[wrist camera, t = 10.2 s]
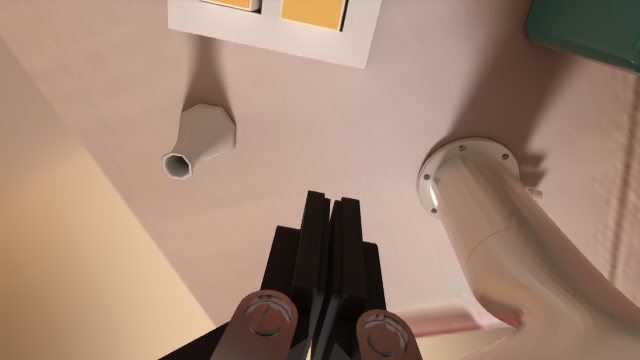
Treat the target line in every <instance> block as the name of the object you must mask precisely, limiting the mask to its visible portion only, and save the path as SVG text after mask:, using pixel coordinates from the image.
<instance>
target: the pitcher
mask: <svg viewBox="0 0 640 360" xmlns="http://www.w3.org/2000/svg"><path fill="white" fill-rule="evenodd" d="M526 34H527V36H528V38H529V40H531V41H532V42H534V43H535V44H538V45H541V46H544V47H547V48H551V49H554V50H557V51H560V52H563V53H567V54H570V55H573V56H576V57H579V58H582V59H586V60H589V61H592V62H595V63H598V64H601V65H605V66H608V67H611V68H614V69H617V70H620V71H624V72H627V73H630V74H633V75H636V76H640V0H534V2H533V5H532V8H531V11H530V13H529V16H528V19H527V22H526Z"/></svg>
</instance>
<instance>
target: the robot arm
mask: <svg viewBox="0 0 640 360" xmlns="http://www.w3.org/2000/svg"><path fill="white" fill-rule="evenodd" d="M461 145H462V146H461ZM459 146H460V147H459ZM426 174H427V175H426ZM519 176H520V175H519V167H518V164H517V161H516V159H515V157H514V156H513V154H512V153H511V152H510V151H509V150H508V149H507V148H506V147H504V146H503V145H502V144H500V143H498V142H496V141H494V140H491V139H486V138H480V137H471V138H464V139H459V140H456V141H453V142H451V143H449V144H447V145H445V146H443V147H441V148H440V149H438V150H437V151H436V152H434V153H433V154H432V155H431V156H430V157H429V158H428V159H427V161H426V162H425V164H424V165H423V166H422V168H421V171H420V173H419V176H418V180H417V192H418V196H419V199H420V201H421V204H422V205H423V207H424V208H425V210H426V211H427V212H428V213H429V214H430V215H432V216H434V217H435V218H437V219H439V220H441V221H442V223H443V226H444V228H445V230H446V233H447V235H448V237H449V240H450V242H451V245H452V247H453V249H454V252H455V254H456V256H457V259H458V261H459V264H460V266H461V268H462V271H463V273H464V276H465V278H466V280H467V282H468V285H469V287H470V289H471V291H472V293H473V295H474V297H475V298H476V300H477V301H478V302H479V304H480V305H481V306H482V307H483V308H484V309H485V310H486V311H487V312H489V313H490V314H491V315H493V316H494V317H496V318H497V319H499V320H500V321H502V322H504V323H506V324H508V325H510V326H512V327H514V328H516V330H515V331H514V332H512V333H510V334H508V335H506V336H505V337H503V338H501V339H499V341H497V342H495V343H493V344H491V345H489V346H487V347H486V348H483V349H481V350H479V351H477V352H475V353H473V354H471V355H469V356H467V357H465V358H463V359H461V360H640V308H639V307H638V306H636V305H635V304H634V303H633V302H632V301H631V300H629V299H628V298H627V297H626V296H625V295H624V294H623V293H622V292H620V291H619V290H618V289H617V288H616V287H615V286H614V285H613V284H612V283H611V282H609V281H608V280H607V279H606V278H605V277H604V276H603V275H602V273H601V272H600V271H599V270H598V269H597V268H596V267H595V266H594V265H593V264H592V263H591V262H590V261H589V260H588V259H587V258H586V257H585V256H584V255H583V254H582V253H581V251H580V250H579V249H578V248H577V247H576V246H575V245H574V244H573V243H572V241H571V240H570V239H569V238H568V237H567V236H566V235H565V234H564V233H563V232H562V231H561V230H560V228H559V227H558V226H557V225H556V224H555V223H554V222H553V221H552V219H551V218H550V217H549V216H548V215H547V214H546V213H545V211H544V210H543V209H542V208H541V207H540V206H539V205H538V204H537V202H536V201H540V200H541V199H542V192H541V191H539V190H534V189H527V188H526V187H525V185H524V184H523V183H522V182H521V181H520V180H519ZM329 218H330V221H329ZM311 340H312V345H311V357H310V358H311V359H310V360H423V359H422V356H421V354H420V351H419V348H418V345H417V342H416V340H415V337H414V335H413V333H412V331H411V329H410V327H409V326H408V325H407V324H406V323H405V321H404V320H403V319H401V318H400V317H398V316H397V315H396V314H393V313H391V312H389V311H387V310H386V303H385V296H384V289H383V281H382V274H381V267H380V259H379V252H378V247H377V244H375V243H370V242H364V241H363V239H362V226H361V214H360V202H359V200H356V199H351V198H346V197H342V199H341V201H338V200H335V202H334V206H333V209H332V213H331V217H330V199H328V198H325V193H320V192H315V191H309V190H308V194H307V199H306V204H305V209H304V214H303V219H302V223H301V228H300V229H294V228H289V227H284V226H277V228H276V232H275V236H274V239H273V243H272V247H271V251H270V255H269V258H268V262H267V266H266V270H265V273H264V277H263V281H262V285H261V289H260V290H259V291H256V292H253V293H250V294H249V295H248V296H246V297H245V298H243V300H242V301H241V302H240V304H239V305H238V307H237V309H236V310H235V312H234V314H233V316H232V318H231V320H230V321H229V322H227V323H225V324H223V325H221V326H220V327H218V328H216V329H214V330H212V331H210V332H208V333H207V334H205V335H203V336H201V337H199V338H197V339H195V340H194V341H192V342H190V343H188V344H186V345H184V346H182V347H181V348H179V349H177V350H175V351H173V352H171V353H169V354H168V355H166V356H164V357H162V358H160V359H158V360H306V357H307V354H308V350H309V347H310V344H311Z"/></svg>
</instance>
